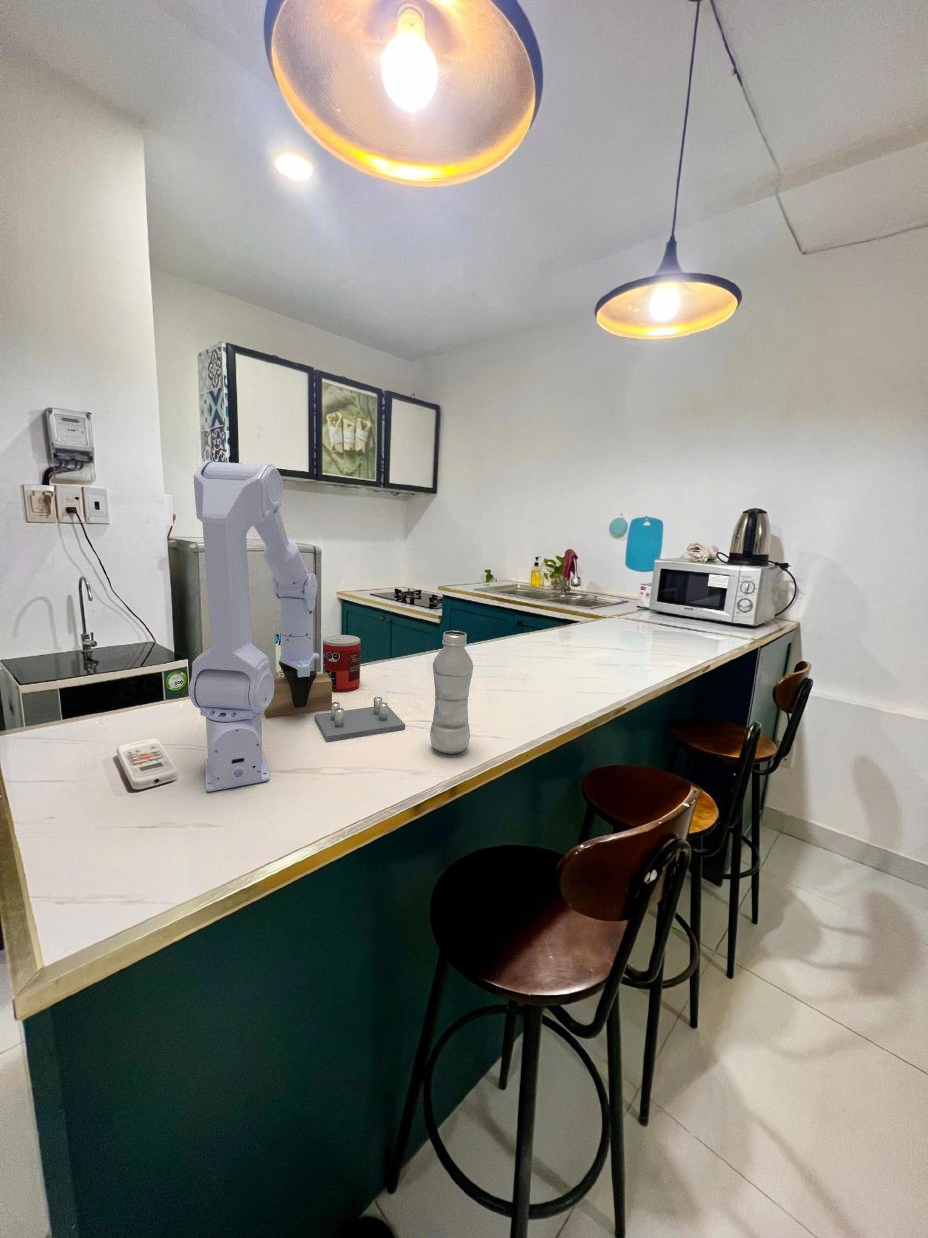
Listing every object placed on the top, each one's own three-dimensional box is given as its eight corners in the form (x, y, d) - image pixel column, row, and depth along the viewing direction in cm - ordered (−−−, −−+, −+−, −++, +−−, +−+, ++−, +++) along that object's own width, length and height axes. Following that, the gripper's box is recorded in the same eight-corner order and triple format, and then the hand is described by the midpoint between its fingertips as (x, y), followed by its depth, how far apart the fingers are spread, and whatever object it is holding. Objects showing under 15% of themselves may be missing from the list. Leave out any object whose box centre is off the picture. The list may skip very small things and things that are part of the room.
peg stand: (405, 729, 88) (405, 708, 88) (326, 742, 82) (326, 719, 81) (386, 709, 97) (387, 690, 96) (314, 719, 90) (314, 699, 90)
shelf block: (331, 710, 95) (332, 680, 94) (266, 718, 90) (265, 687, 89) (326, 701, 100) (326, 673, 98) (263, 709, 94) (262, 679, 93)
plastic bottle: (465, 761, 78) (472, 640, 74) (424, 755, 79) (429, 635, 75) (472, 744, 84) (479, 631, 80) (434, 738, 85) (439, 627, 81)
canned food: (320, 682, 110) (320, 635, 108) (355, 679, 114) (356, 633, 111) (325, 694, 103) (325, 644, 101) (363, 690, 107) (364, 642, 105)
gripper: (327, 641, 87) (327, 712, 90) (311, 624, 100) (311, 687, 102) (285, 643, 84) (286, 717, 87) (274, 625, 96) (275, 691, 99)
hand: (297, 701), depth 94 cm, fingers closed on shelf block, 5 cm apart
